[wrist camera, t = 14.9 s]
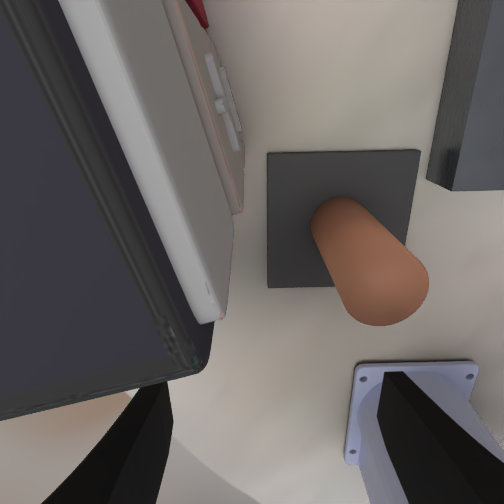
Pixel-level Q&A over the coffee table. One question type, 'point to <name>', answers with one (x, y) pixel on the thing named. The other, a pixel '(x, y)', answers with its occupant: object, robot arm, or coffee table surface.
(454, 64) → the chuck plate
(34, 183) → the red and grey box
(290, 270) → the mat
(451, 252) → the coffee table surface
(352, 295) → the cylinder
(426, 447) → the robot arm
